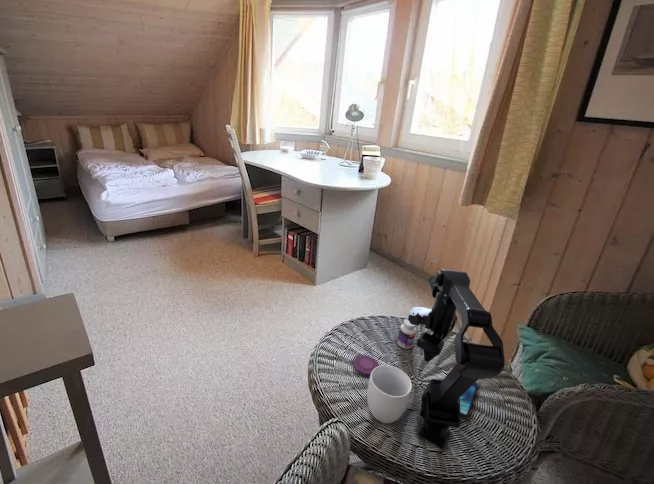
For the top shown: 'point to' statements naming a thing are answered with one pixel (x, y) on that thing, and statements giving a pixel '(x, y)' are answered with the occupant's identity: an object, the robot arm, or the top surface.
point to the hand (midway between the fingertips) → (431, 352)
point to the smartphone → (467, 400)
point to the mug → (388, 393)
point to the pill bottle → (406, 335)
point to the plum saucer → (365, 364)
